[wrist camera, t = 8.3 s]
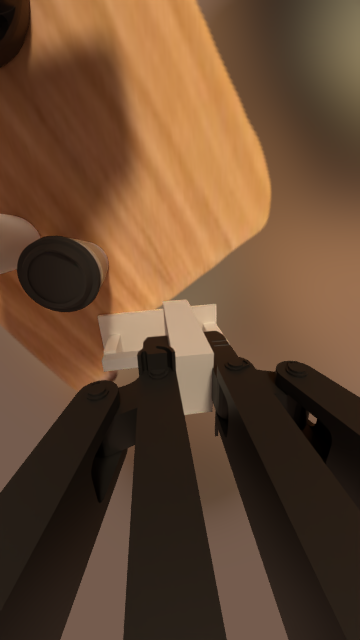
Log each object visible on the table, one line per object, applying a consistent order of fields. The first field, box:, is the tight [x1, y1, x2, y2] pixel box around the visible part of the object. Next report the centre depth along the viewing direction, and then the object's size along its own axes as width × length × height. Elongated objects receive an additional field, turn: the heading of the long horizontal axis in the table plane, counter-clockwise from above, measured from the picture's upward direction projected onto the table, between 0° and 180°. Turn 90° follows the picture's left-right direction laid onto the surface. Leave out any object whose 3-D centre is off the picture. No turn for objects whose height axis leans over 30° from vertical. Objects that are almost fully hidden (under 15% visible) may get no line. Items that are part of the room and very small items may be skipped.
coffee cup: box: [17, 236, 109, 312], centre depth 32 cm, size 9×9×15 cm
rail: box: [97, 304, 230, 372], centre depth 41 cm, size 11×22×10 cm, turn 94°
